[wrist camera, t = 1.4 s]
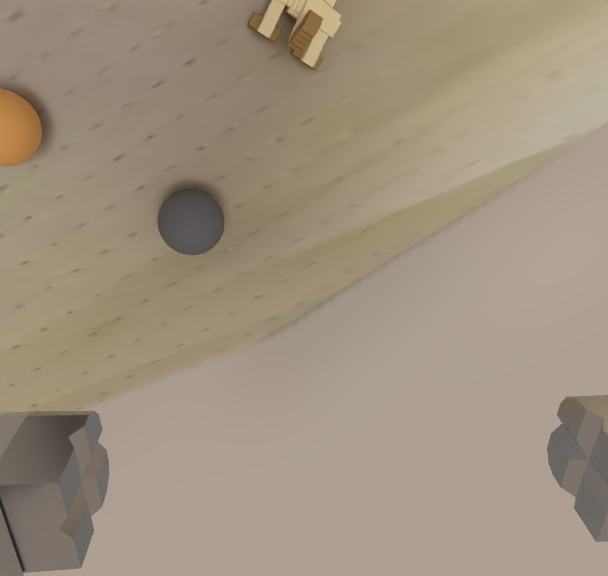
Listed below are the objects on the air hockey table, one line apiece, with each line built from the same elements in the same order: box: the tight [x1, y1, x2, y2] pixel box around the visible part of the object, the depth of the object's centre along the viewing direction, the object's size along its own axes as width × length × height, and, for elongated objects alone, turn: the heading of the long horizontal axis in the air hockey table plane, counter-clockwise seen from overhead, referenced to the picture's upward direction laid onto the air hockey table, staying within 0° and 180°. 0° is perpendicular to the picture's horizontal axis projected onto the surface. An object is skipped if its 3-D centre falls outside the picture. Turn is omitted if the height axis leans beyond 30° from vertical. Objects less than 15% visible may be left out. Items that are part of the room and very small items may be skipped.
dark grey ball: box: [158, 190, 224, 255], centre depth 40 cm, size 5×5×5 cm
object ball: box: [0, 89, 42, 166], centre depth 35 cm, size 5×5×5 cm
